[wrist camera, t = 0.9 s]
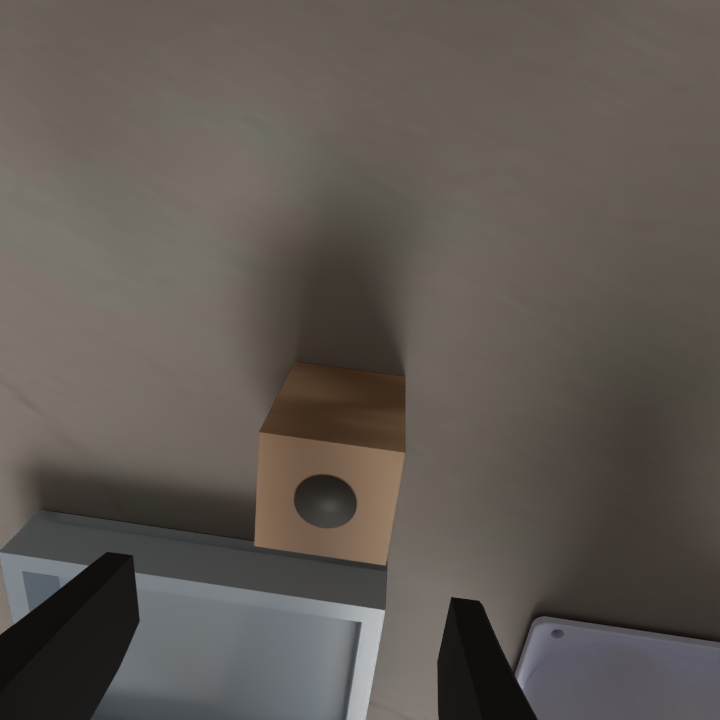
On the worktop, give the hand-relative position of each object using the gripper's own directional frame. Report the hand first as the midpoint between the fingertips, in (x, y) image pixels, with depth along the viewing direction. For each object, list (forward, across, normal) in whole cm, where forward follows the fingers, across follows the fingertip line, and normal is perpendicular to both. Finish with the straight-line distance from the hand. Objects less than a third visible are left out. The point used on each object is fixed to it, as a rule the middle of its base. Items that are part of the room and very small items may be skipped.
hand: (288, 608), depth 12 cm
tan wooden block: (+8, 0, 0) cm, 9 cm away
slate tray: (+8, +5, +13) cm, 16 cm away
